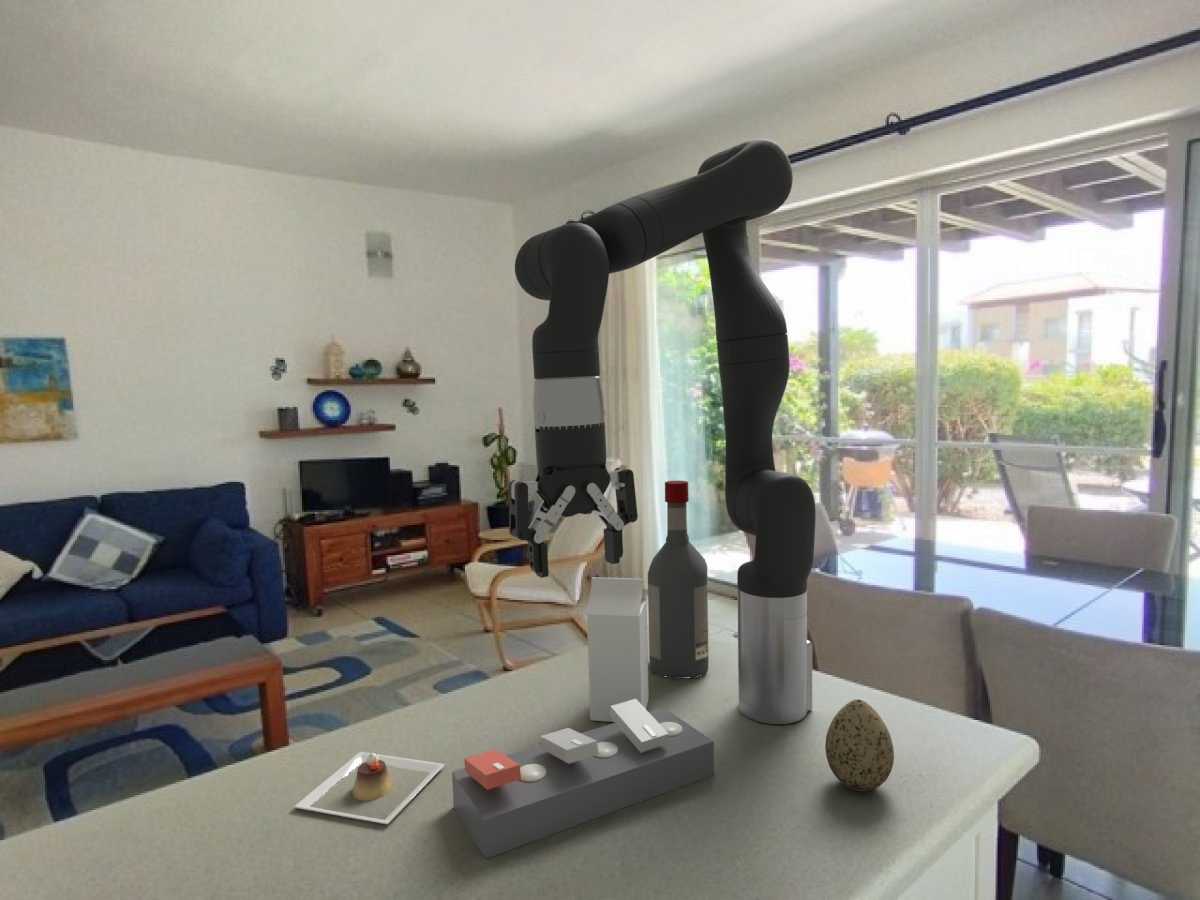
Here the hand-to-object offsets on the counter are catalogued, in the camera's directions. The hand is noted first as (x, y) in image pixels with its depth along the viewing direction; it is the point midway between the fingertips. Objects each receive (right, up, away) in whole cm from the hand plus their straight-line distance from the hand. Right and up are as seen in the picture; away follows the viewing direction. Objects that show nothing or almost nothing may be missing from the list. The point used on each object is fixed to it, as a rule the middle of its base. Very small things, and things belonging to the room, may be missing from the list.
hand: (577, 569), depth 77 cm
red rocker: (-9, -21, -3) cm, 23 cm away
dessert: (-24, -27, +4) cm, 36 cm away
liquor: (+15, -22, +36) cm, 45 cm away
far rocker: (+7, -20, +6) cm, 21 cm away
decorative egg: (+31, -25, +2) cm, 40 cm away
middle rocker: (-1, -20, +1) cm, 20 cm away
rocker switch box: (+1, -25, +3) cm, 26 cm away
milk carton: (+5, -24, +22) cm, 32 cm away
